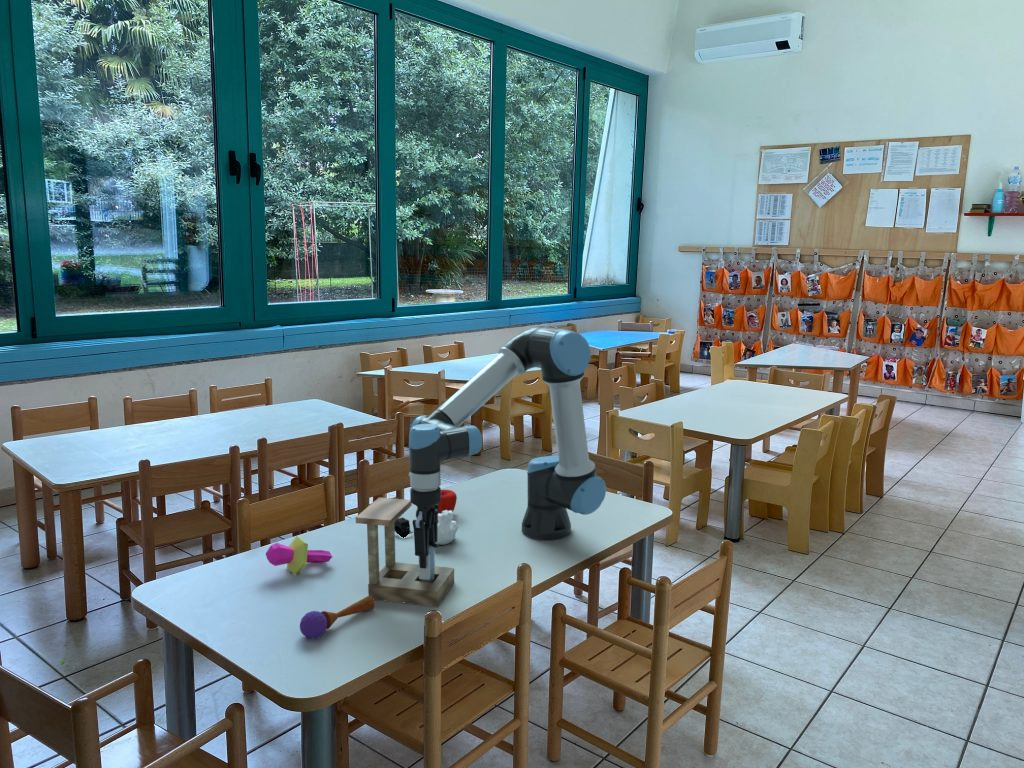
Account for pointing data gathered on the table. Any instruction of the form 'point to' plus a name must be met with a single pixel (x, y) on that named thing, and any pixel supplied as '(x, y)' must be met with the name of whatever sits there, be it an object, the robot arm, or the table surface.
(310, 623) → the kendama
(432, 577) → the peg
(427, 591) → the socket board
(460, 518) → the table surface
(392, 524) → the awning
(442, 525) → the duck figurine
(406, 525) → the black rounded block
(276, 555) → the toy
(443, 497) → the apple
